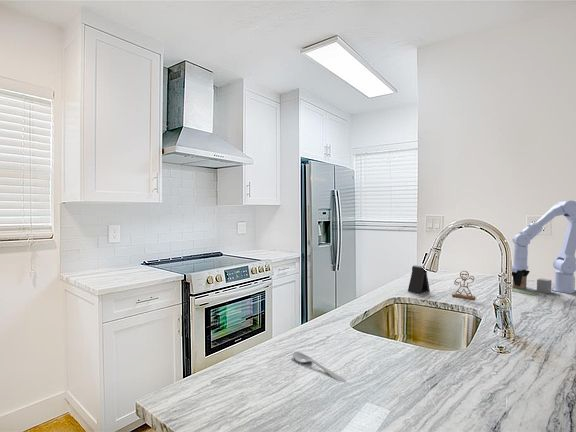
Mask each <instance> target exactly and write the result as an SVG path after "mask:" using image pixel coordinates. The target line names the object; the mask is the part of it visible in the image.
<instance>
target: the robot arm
mask: <svg viewBox="0 0 576 432" xmlns="http://www.w3.org/2000/svg"><path fill="white" fill-rule="evenodd" d="M558 216H564V217H565V218H566V220H568V224H567V228H566V230H565V231H566V232H565V235H564V238H563V239H564V240H563V242H562V247H561V250H560V252H558V254H557V256H556V258H555V259H554V261H553V263H552V265H553V268H554V269H555V271H554V287H553V288H551V292H552V291H554V292H559V293H565V294H570V295H571V294H574V293H576V288H575V287H576V286H575V285H576V277H575V275H574V274H575V272H576V254H575V253H576V201H575V200H560V201H558V202H557V203H555V204H554V205H552V206H551V207H550V208H549V209H548V210H547V211H546V212H545V214H542V216H541V217H540V218H539V219H538V220H537V221H536V222H531V223H527V224H526V227H525V228H524V229H522V230H520V231H519V233H517V234H515V235H514V236H513V238H512V243H513V244H514V248H513V265H511V266H512V267H511V271H512V274H511V277H512V280H513V279H514V284H515V285H516V286H520V284H521V279H522V276H527V277H528V275H529V273H531V271H530V270H529V265H528V254H529V253H528V251H529V250H528V249H529V245H530V243H531V240H533V239H534V238H535V237H536V236H537V235H539V234H540V233H541V232H543V231H542V230H543V227H544V226H545V225H547V224H548V223H549V222H551V221H552V220H553V219H555V218H556V217H558Z"/></svg>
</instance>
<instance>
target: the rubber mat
mask: <svg viewBox="0 0 576 432" xmlns="http://www.w3.org/2000/svg"><path fill="white" fill-rule="evenodd" d="M511 292H514V293H519V294H524V295H529V296H536V295H539V293H540V292H535V291H530V290H528V291H524V290H519V289H513V288H512V291H511Z"/></svg>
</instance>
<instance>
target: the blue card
mask: <svg viewBox="0 0 576 432" xmlns="http://www.w3.org/2000/svg"><path fill="white" fill-rule="evenodd" d="M511 286H512V288H513V284H512V285H511ZM513 289H517V288H513ZM533 289H534V288H532V287H527V286H526V289H519V290H524V291H530V290H533Z"/></svg>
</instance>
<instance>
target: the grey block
mask: <svg viewBox="0 0 576 432" xmlns="http://www.w3.org/2000/svg"><path fill="white" fill-rule="evenodd" d="M551 289H552V280H551V279H547V278H538V279H536V293H544V294H551V293H552V290H551Z"/></svg>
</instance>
